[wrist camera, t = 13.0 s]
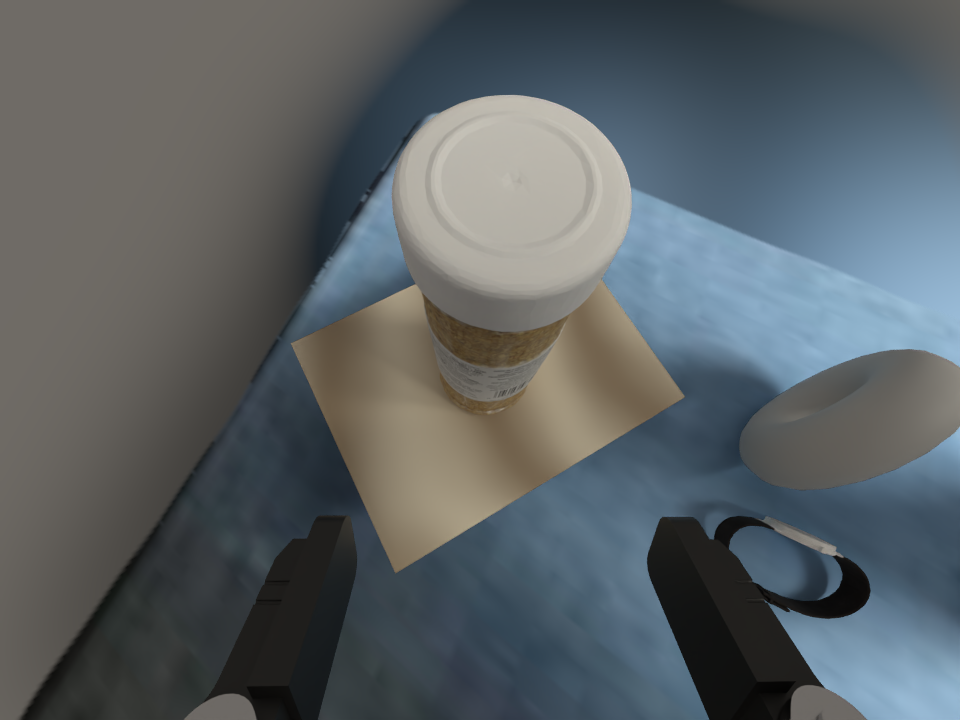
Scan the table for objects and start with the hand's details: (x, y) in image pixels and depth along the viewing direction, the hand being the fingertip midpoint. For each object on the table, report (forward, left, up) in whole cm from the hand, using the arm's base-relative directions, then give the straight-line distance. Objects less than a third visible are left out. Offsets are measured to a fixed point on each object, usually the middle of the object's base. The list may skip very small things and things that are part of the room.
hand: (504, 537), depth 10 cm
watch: (-13, +11, -14) cm, 23 cm away
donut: (-18, +5, -14) cm, 24 cm away
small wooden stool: (-3, -6, -14) cm, 16 cm away
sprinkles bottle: (-3, -6, -8) cm, 11 cm away
